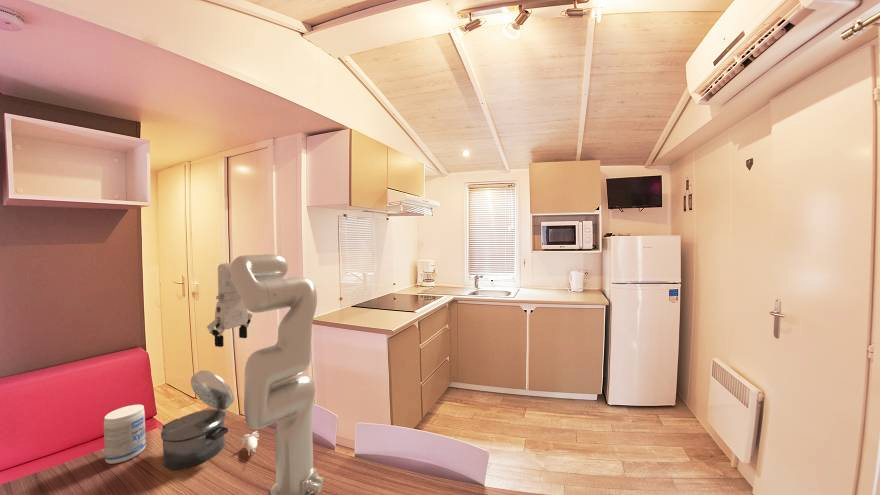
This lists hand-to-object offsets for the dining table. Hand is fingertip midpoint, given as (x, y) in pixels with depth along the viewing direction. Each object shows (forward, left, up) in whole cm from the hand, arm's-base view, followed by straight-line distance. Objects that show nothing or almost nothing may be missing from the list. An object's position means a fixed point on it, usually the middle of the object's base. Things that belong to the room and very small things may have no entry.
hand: (231, 341), depth 113 cm
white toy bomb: (-17, +8, -34) cm, 39 cm away
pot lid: (+2, +7, -16) cm, 17 cm away
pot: (+2, +12, -34) cm, 36 cm away
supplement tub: (+24, +19, -34) cm, 46 cm away
